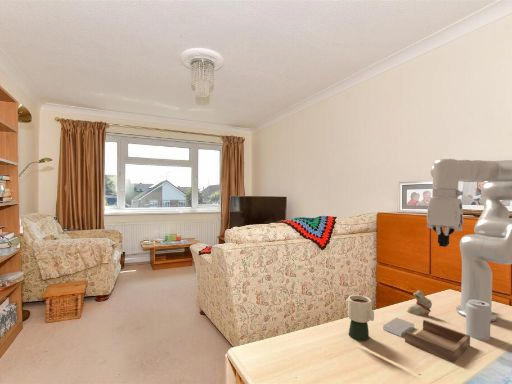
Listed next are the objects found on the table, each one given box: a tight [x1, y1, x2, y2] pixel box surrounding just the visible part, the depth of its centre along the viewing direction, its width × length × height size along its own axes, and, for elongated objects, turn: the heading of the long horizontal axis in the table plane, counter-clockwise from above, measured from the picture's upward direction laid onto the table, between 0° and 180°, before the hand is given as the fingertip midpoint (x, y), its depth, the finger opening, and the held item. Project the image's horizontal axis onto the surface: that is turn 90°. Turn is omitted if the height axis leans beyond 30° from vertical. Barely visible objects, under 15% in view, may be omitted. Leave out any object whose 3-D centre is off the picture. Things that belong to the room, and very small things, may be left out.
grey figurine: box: [406, 290, 433, 317], centre depth 109 cm, size 6×8×10 cm
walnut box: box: [404, 319, 471, 363], centre depth 87 cm, size 14×13×4 cm
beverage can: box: [465, 299, 492, 342], centre depth 93 cm, size 6×6×12 cm
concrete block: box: [382, 317, 415, 338], centre depth 96 cm, size 10×6×2 cm, turn 129°
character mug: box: [345, 294, 375, 342], centre depth 91 cm, size 11×7×13 cm, turn 28°
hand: (443, 246), depth 99 cm, fingers closed
